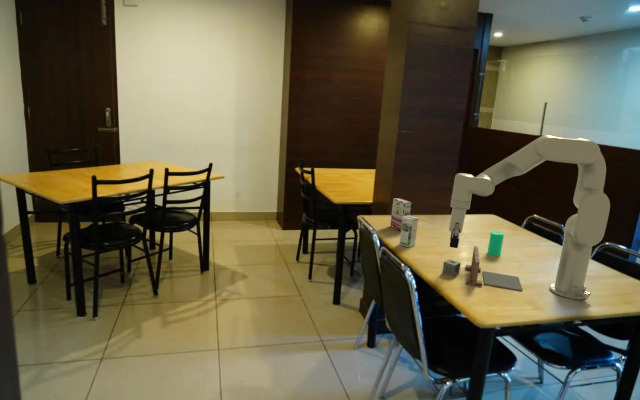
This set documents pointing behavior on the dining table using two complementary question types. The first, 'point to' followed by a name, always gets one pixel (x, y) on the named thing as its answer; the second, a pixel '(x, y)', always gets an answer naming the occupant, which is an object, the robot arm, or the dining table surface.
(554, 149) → the robot arm
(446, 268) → the dice cube
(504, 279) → the grey mat
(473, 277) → the walnut screen
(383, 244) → the dining table surface
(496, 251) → the candle
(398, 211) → the candy bar box
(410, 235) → the syrup box
